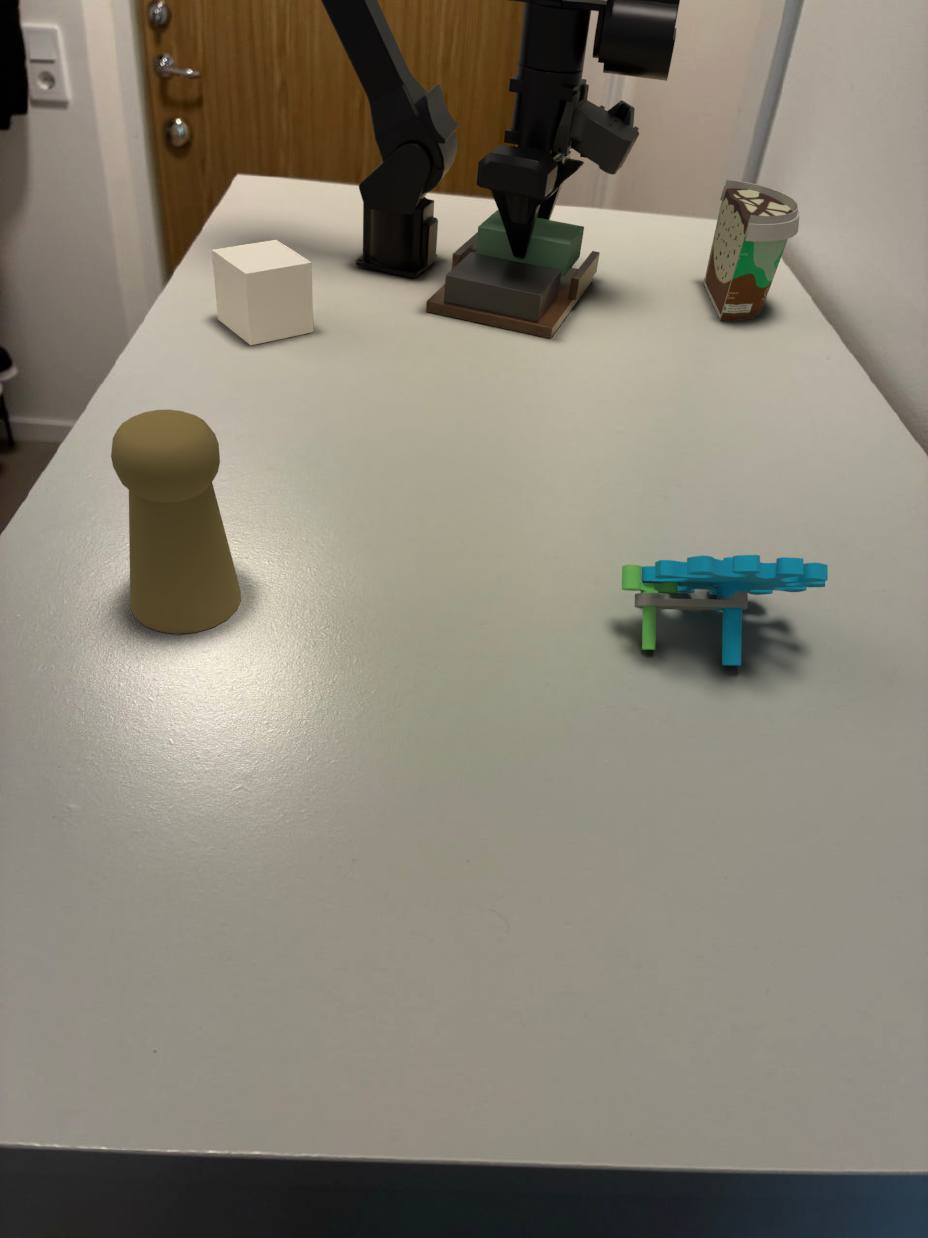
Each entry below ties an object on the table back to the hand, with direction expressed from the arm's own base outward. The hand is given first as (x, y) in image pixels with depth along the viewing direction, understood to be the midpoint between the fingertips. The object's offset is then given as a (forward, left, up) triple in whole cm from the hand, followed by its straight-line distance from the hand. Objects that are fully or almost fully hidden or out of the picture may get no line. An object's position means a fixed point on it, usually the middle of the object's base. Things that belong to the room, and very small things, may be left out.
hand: (528, 247), depth 93 cm
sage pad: (0, 0, -1) cm, 1 cm away
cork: (-3, -57, -4) cm, 57 cm away
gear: (+25, -47, -4) cm, 53 cm away
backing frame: (0, -4, -3) cm, 5 cm away
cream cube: (-17, -22, -4) cm, 28 cm away
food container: (+21, +6, -4) cm, 22 cm away
